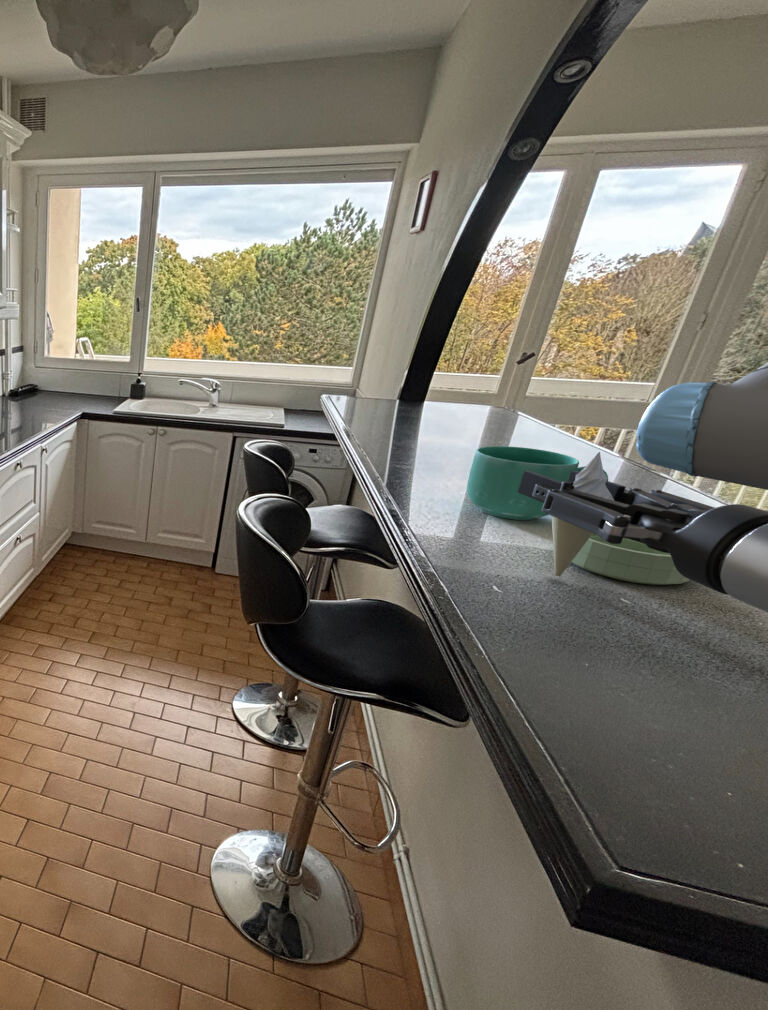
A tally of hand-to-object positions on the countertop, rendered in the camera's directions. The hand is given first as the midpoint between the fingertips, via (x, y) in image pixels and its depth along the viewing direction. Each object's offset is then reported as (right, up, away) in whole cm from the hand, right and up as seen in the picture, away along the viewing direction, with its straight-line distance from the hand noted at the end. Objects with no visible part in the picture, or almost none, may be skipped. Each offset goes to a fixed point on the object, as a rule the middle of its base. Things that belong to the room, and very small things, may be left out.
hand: (547, 481), depth 71 cm
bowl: (+12, -10, +3) cm, 16 cm away
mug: (+14, -3, +21) cm, 26 cm away
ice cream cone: (0, -11, -1) cm, 12 cm away
